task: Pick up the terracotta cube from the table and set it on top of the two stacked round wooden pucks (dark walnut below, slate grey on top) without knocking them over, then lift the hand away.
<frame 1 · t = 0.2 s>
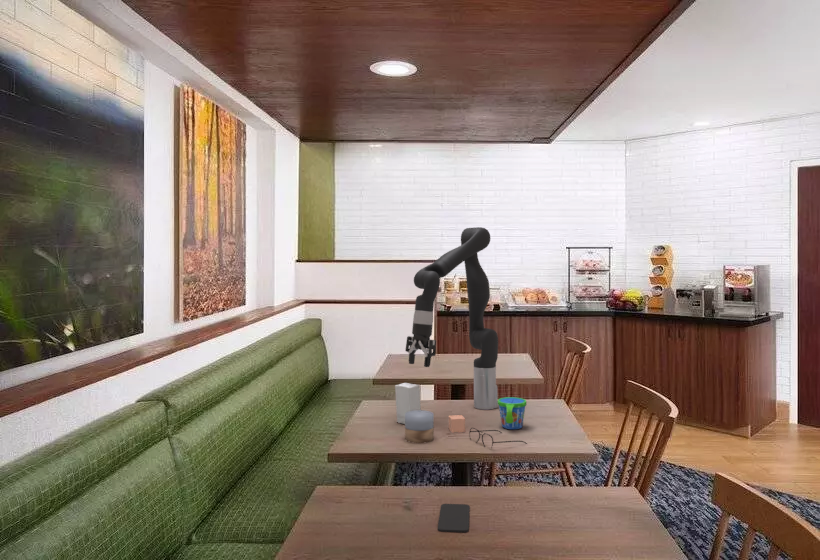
hand: (418, 365, 229), 22 cm above the table, tool pointing down, fingers open, 8 cm apart
skincare box: (408, 423, 231), on the table
glasses: (497, 443, 207), on the table
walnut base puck: (419, 439, 211), on the table, touching slate top puck
phone: (454, 520, 148), on the table
snack cup: (512, 427, 223), on the table
slate top puck: (419, 426, 211), point 4 cm above the table, touching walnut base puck
terracotta cube: (456, 430, 220), on the table
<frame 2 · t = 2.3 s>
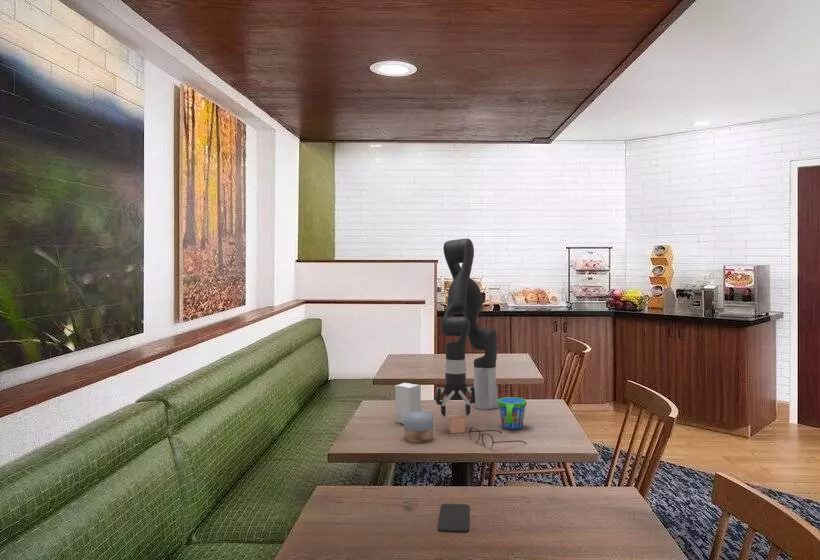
hand: (455, 415, 220), 6 cm above the table, tool pointing down, fingers open, 8 cm apart
nothing on the table moved.
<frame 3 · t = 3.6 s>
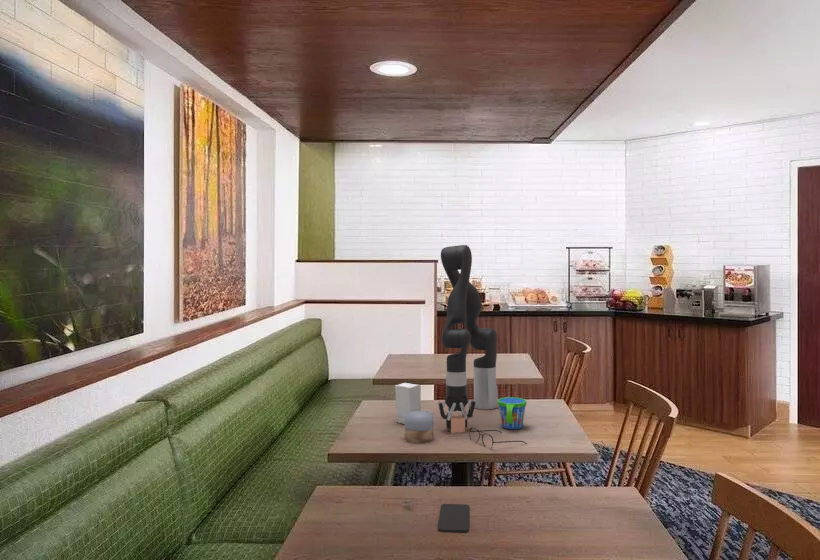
hand: (456, 429, 220), 0 cm above the table, tool pointing down, fingers closed on terracotta cube, 5 cm apart
terracotta cube: (456, 430, 220), on the table, touching gripper
everything else where it was.
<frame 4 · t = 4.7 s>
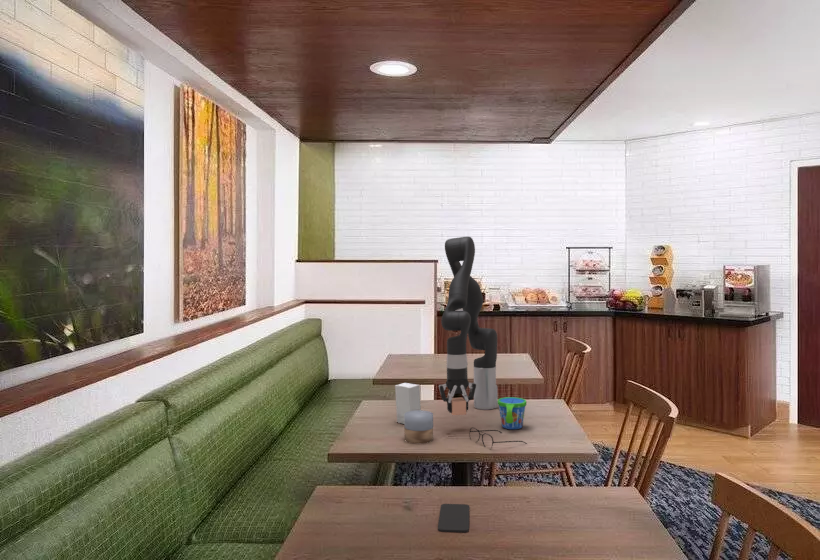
hand: (457, 411, 220), 7 cm above the table, tool pointing down, fingers closed on terracotta cube, 5 cm apart
terracotta cube: (457, 413, 220), point 6 cm above the table, touching gripper
everything else where it was.
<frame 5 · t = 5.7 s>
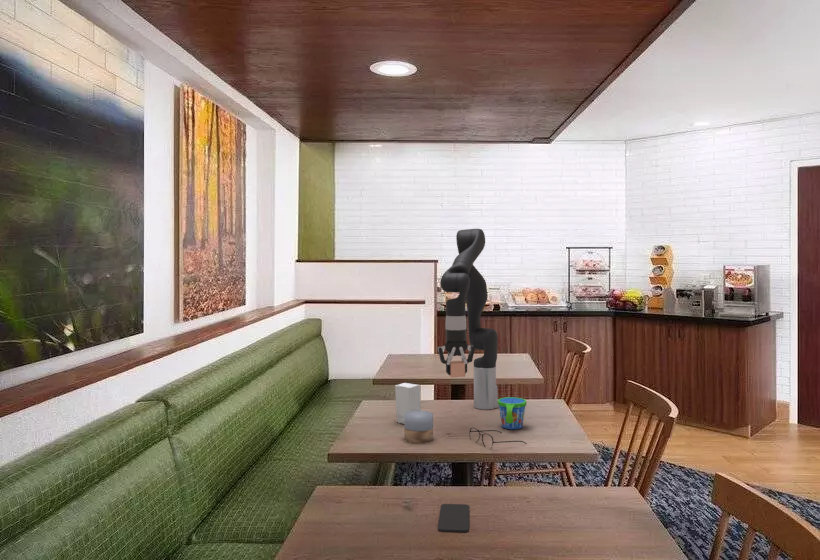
hand: (456, 374, 219), 21 cm above the table, tool pointing down, fingers closed on terracotta cube, 5 cm apart
terracotta cube: (456, 375, 219), point 20 cm above the table, touching gripper
everything else where it was.
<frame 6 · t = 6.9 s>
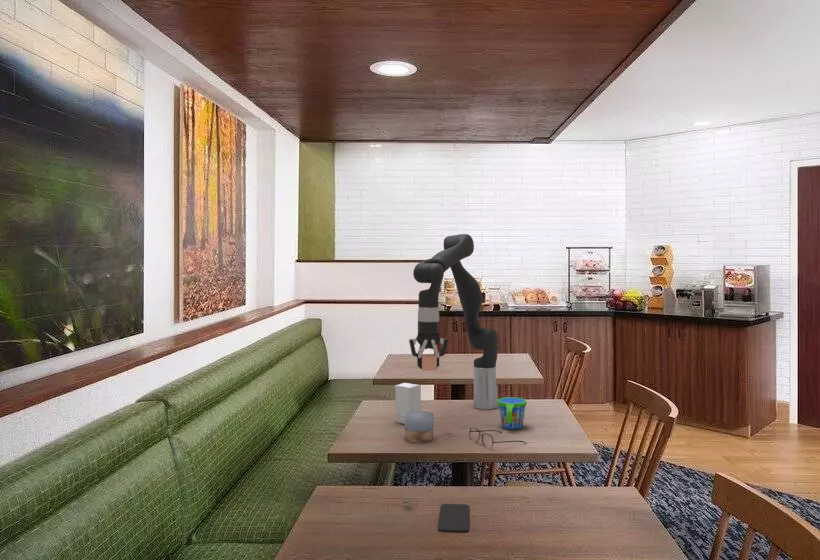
hand: (428, 367, 212), 25 cm above the table, tool pointing down, fingers closed on terracotta cube, 5 cm apart
terracotta cube: (428, 369, 212), point 24 cm above the table, touching gripper
everything else where it was.
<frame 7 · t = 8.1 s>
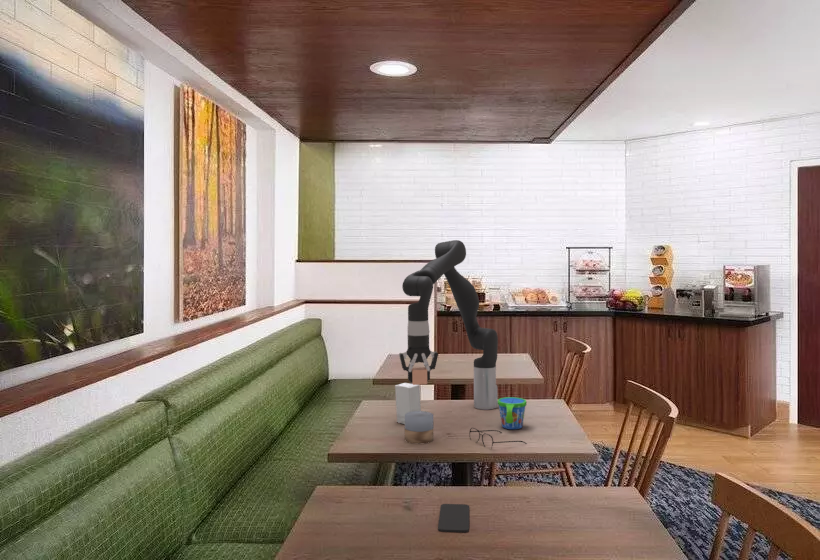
hand: (418, 381, 210), 20 cm above the table, tool pointing down, fingers closed on terracotta cube, 5 cm apart
terracotta cube: (419, 383, 210), point 20 cm above the table, touching gripper
everything else where it was.
when the fingers open (11 cm above the table, at t = 10.1 s): terracotta cube drops 2 cm, resting on slate top puck.
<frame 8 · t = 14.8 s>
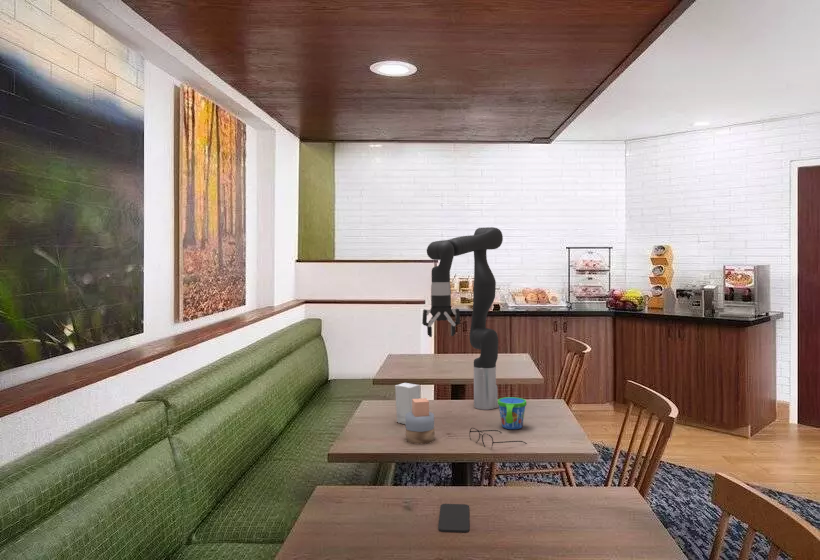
hand: (441, 336, 230), 33 cm above the table, tool pointing down, fingers open, 8 cm apart
slate top puck: (419, 427, 210), point 4 cm above the table, touching terracotta cube, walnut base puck
terracotta cube: (420, 414, 210), point 9 cm above the table, touching slate top puck
everything else where it was.
at the end: terracotta cube 0.4 cm off-centre on the slate top puck, point 4.5 cm above the slate top puck's base; terracotta cube tilted 0°; slate top puck 0.1 cm off-centre on the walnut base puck, point 4.4 cm above the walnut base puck's base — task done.
